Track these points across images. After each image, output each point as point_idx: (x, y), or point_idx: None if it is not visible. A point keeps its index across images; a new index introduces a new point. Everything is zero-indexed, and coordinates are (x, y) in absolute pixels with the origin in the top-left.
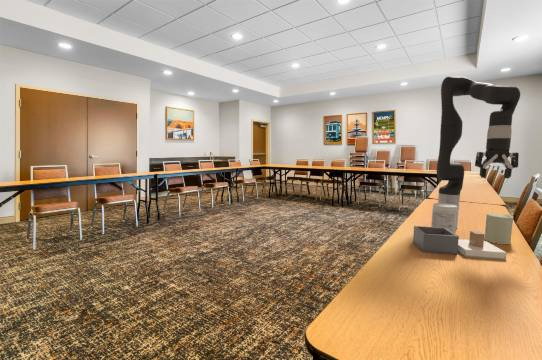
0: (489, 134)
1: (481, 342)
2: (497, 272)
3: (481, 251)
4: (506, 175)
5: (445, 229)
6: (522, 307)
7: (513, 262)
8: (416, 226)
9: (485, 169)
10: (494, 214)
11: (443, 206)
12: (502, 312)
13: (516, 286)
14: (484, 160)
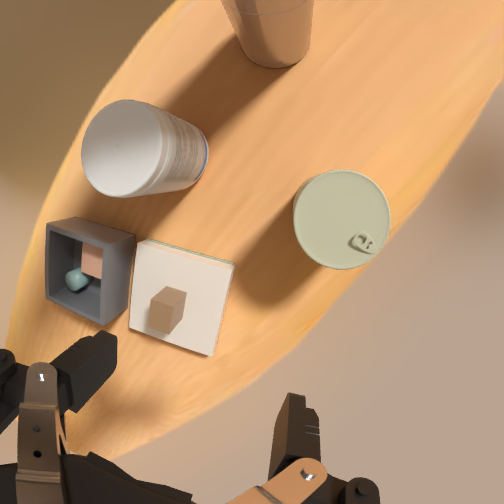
0: None
1: (73, 447)
2: (151, 387)
3: (161, 338)
4: (279, 426)
5: (103, 259)
6: (123, 442)
7: (220, 361)
8: (49, 228)
9: (74, 405)
10: (338, 196)
11: (93, 184)
12: (101, 439)
13: (148, 420)
14: (19, 422)
